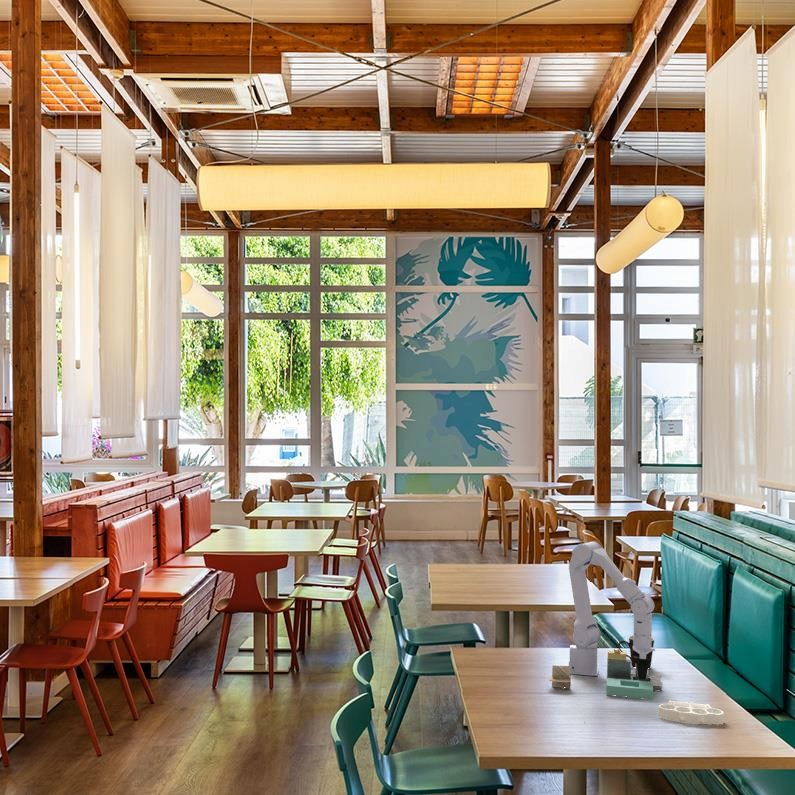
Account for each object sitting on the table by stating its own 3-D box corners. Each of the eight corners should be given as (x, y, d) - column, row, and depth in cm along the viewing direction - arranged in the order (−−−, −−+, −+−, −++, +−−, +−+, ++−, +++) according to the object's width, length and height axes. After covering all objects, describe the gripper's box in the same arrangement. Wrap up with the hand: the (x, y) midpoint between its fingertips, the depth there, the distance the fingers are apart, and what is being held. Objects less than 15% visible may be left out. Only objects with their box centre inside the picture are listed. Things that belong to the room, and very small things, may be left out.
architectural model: (571, 692, 282) (571, 669, 282) (549, 691, 283) (549, 668, 283) (569, 689, 286) (570, 666, 286) (548, 688, 286) (548, 665, 286)
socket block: (606, 686, 288) (607, 663, 289) (607, 676, 300) (607, 654, 300) (661, 691, 284) (661, 668, 285) (659, 680, 296) (660, 658, 296)
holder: (606, 695, 279) (606, 685, 279) (606, 687, 287) (607, 677, 288) (653, 699, 275) (653, 689, 275) (651, 691, 284) (652, 681, 284)
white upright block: (635, 685, 290) (635, 663, 290) (635, 682, 294) (635, 660, 294) (648, 686, 289) (648, 664, 289) (647, 683, 293) (648, 661, 293)
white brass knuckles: (720, 714, 264) (726, 730, 250) (657, 708, 269) (659, 723, 255) (720, 702, 264) (726, 718, 250) (657, 696, 269) (659, 712, 255)
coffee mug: (656, 666, 314) (657, 637, 314) (649, 671, 306) (650, 642, 307) (624, 660, 320) (624, 632, 320) (616, 666, 313) (617, 637, 313)
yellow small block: (607, 658, 293) (607, 649, 293) (607, 656, 296) (607, 647, 296) (626, 660, 292) (626, 651, 292) (626, 658, 294) (626, 649, 294)
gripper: (656, 640, 284) (655, 683, 284) (654, 630, 298) (653, 670, 298) (633, 638, 286) (632, 681, 285) (632, 628, 300) (631, 669, 299)
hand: (641, 675), depth 292 cm, fingers open, 7 cm apart
